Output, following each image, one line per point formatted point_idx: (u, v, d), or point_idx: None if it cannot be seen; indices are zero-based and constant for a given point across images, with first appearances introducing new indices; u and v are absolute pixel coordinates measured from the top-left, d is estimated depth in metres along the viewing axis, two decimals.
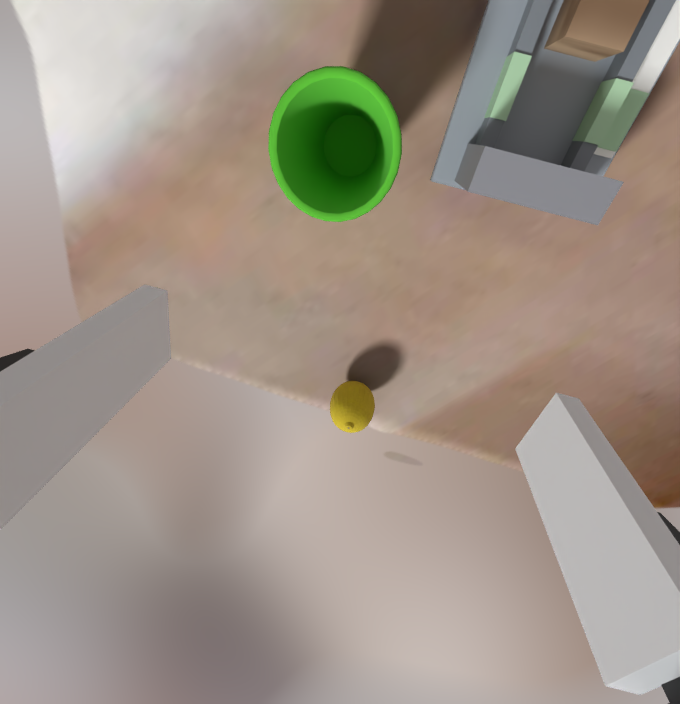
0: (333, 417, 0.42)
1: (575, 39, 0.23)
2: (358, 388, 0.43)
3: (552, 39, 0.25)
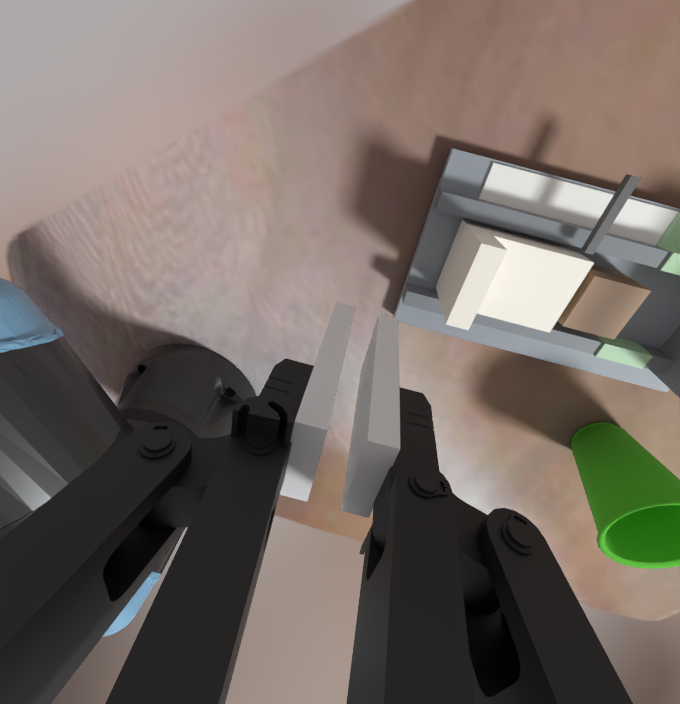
0: None
1: None
2: None
3: None
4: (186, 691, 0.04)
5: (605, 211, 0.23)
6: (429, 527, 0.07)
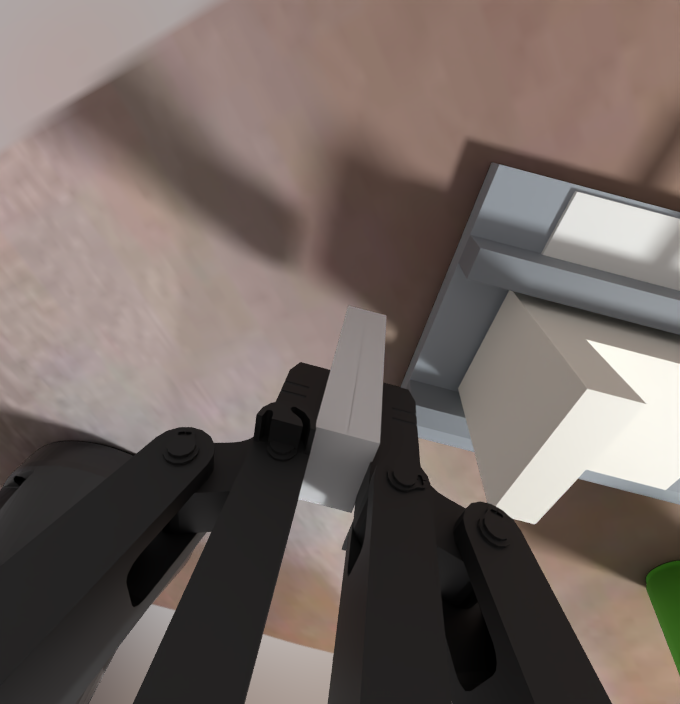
0: None
1: None
2: None
3: None
4: (210, 698, 0.04)
5: None
6: (407, 521, 0.07)
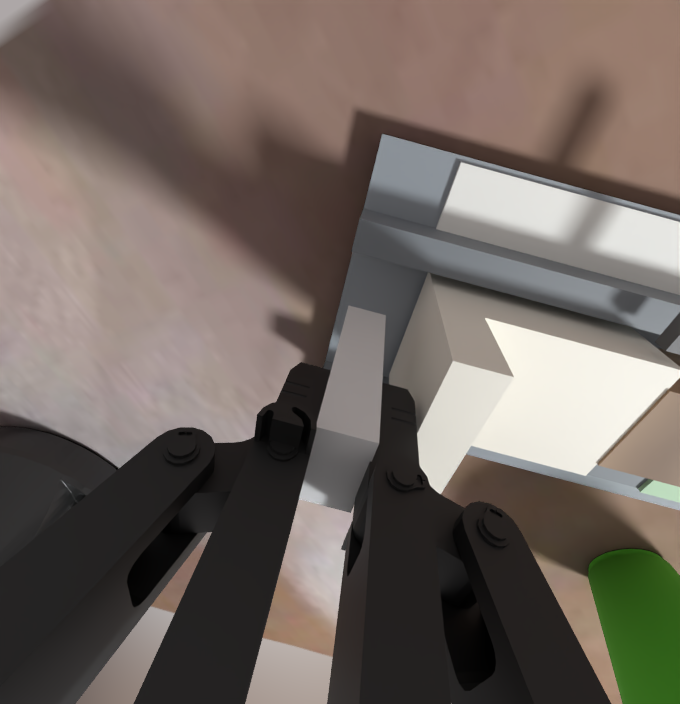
0: None
1: None
2: None
3: None
4: (211, 697, 0.04)
5: None
6: (406, 520, 0.07)
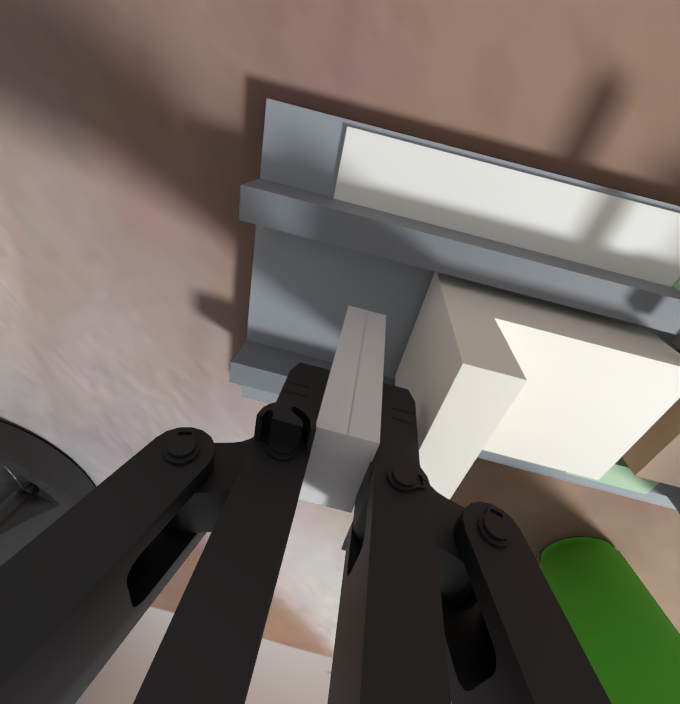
0: None
1: None
2: None
3: None
4: (210, 697, 0.04)
5: None
6: (406, 521, 0.07)
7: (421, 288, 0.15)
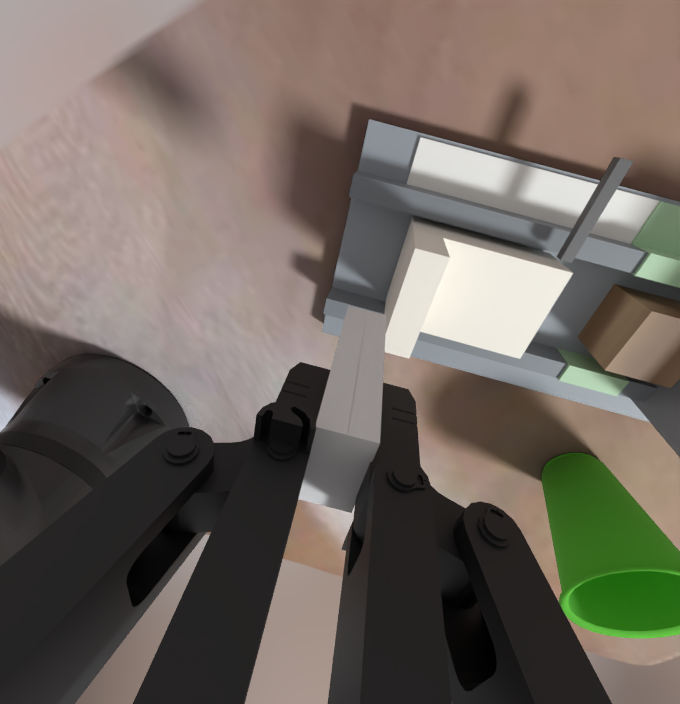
0: None
1: (678, 377, 0.20)
2: None
3: None
4: (209, 699, 0.04)
5: (587, 206, 0.17)
6: (407, 520, 0.07)
7: None
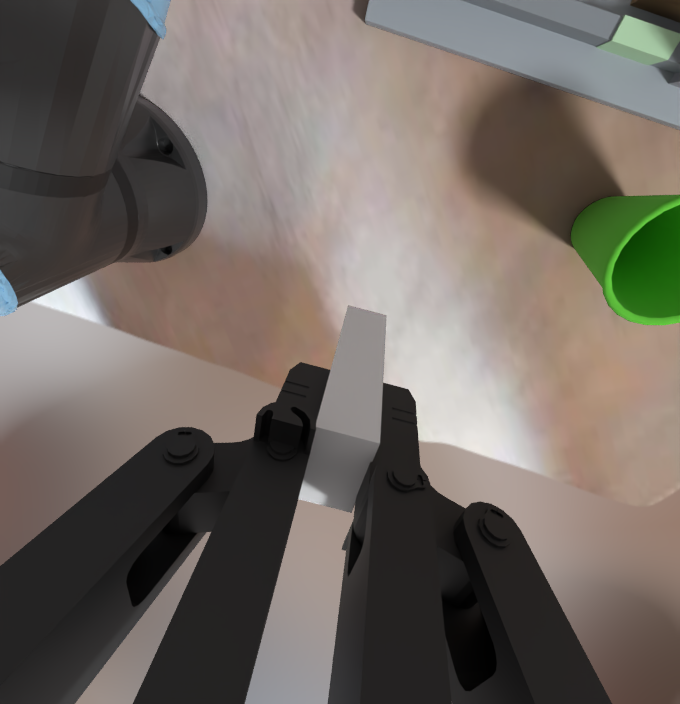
0: None
1: None
2: None
3: None
4: (210, 697, 0.04)
5: None
6: (407, 521, 0.07)
7: None
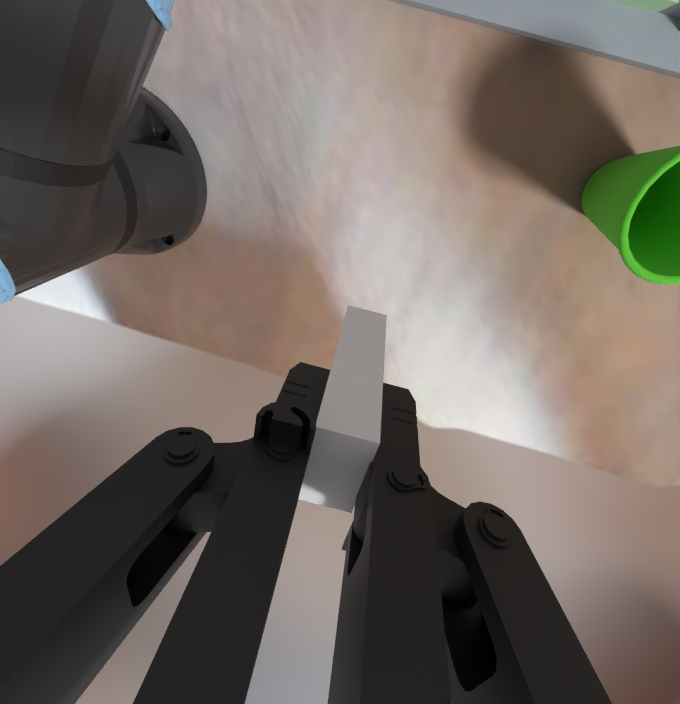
0: None
1: None
2: None
3: None
4: (210, 697, 0.04)
5: None
6: (407, 521, 0.07)
7: None
